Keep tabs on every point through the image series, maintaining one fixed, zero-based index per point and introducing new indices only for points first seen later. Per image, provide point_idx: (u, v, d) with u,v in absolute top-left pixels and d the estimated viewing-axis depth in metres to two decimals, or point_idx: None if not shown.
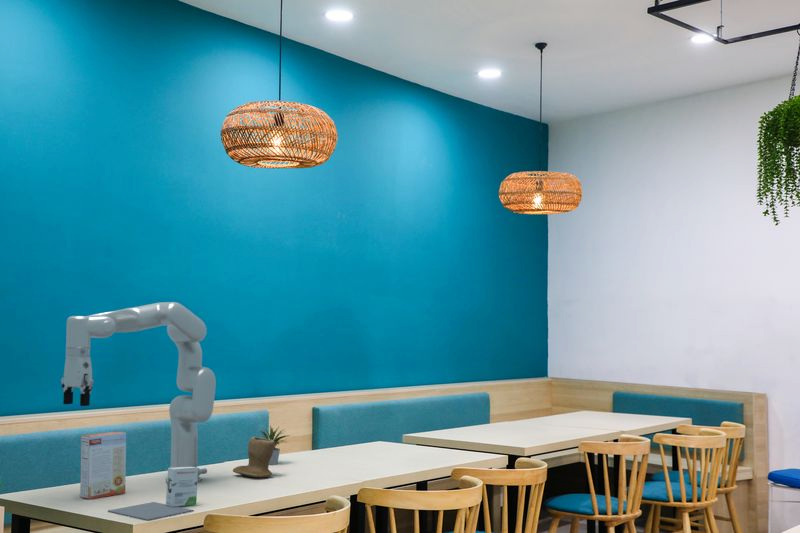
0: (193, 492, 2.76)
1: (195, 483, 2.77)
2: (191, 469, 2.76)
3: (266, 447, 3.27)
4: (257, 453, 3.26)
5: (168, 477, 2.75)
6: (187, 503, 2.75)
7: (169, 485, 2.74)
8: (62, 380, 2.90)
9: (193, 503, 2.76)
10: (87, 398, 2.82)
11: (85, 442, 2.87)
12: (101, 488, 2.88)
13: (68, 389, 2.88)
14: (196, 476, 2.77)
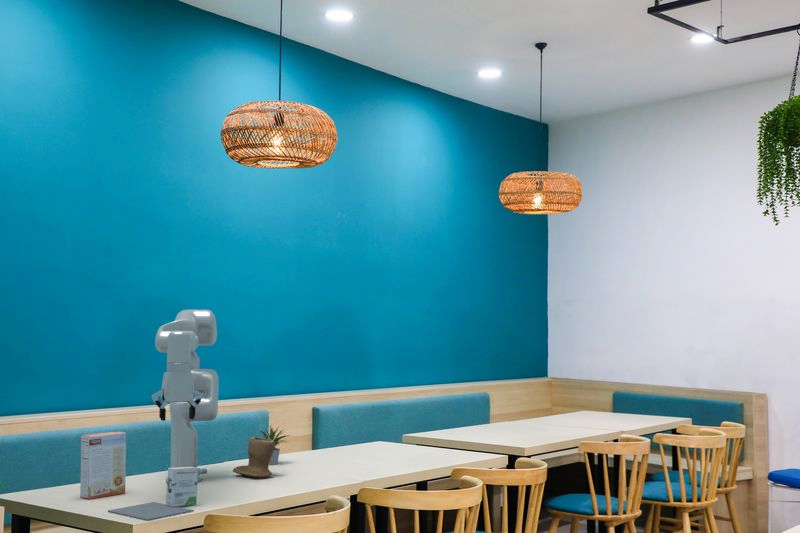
0: (193, 492, 2.76)
1: (195, 483, 2.77)
2: (191, 469, 2.76)
3: (266, 447, 3.27)
4: (257, 453, 3.26)
5: (168, 477, 2.75)
6: (187, 503, 2.75)
7: (169, 485, 2.74)
8: (155, 397, 2.83)
9: (193, 503, 2.76)
10: None
11: (85, 442, 2.87)
12: (101, 488, 2.88)
13: None
14: (196, 476, 2.77)
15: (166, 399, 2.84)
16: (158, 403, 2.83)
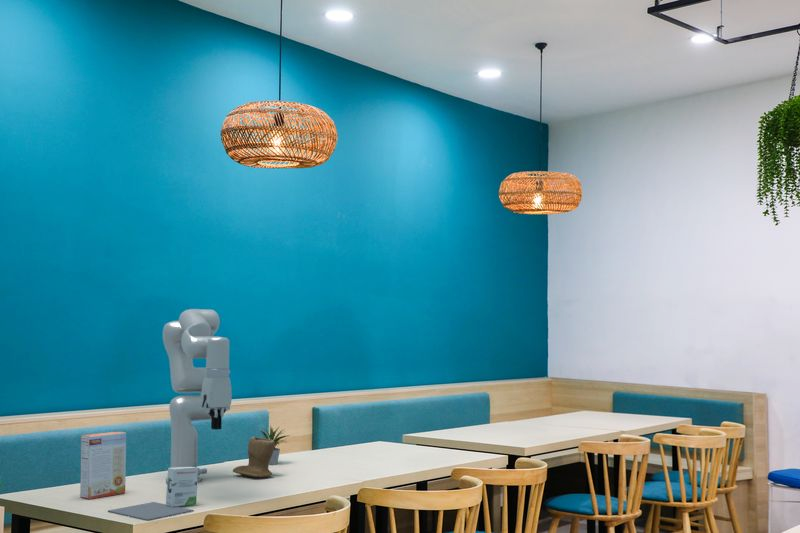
0: (193, 492, 2.76)
1: (195, 483, 2.77)
2: (191, 469, 2.76)
3: (266, 447, 3.27)
4: (257, 453, 3.26)
5: (168, 477, 2.75)
6: (187, 503, 2.75)
7: (169, 485, 2.74)
8: (207, 409, 2.85)
9: (193, 503, 2.76)
10: None
11: (85, 442, 2.87)
12: (101, 488, 2.88)
13: None
14: (196, 476, 2.77)
15: (210, 405, 2.84)
16: (212, 412, 2.86)
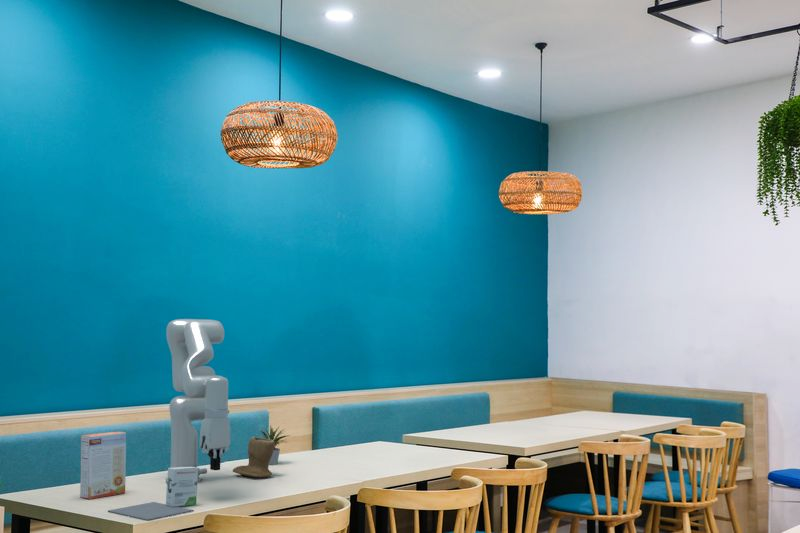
0: (193, 492, 2.76)
1: (195, 483, 2.77)
2: (191, 469, 2.76)
3: (266, 447, 3.27)
4: (257, 453, 3.26)
5: (168, 477, 2.75)
6: (187, 503, 2.75)
7: (169, 485, 2.74)
8: (206, 451, 2.84)
9: (193, 503, 2.76)
10: None
11: (85, 442, 2.87)
12: (101, 488, 2.88)
13: None
14: (196, 476, 2.77)
15: (209, 446, 2.83)
16: (211, 453, 2.85)
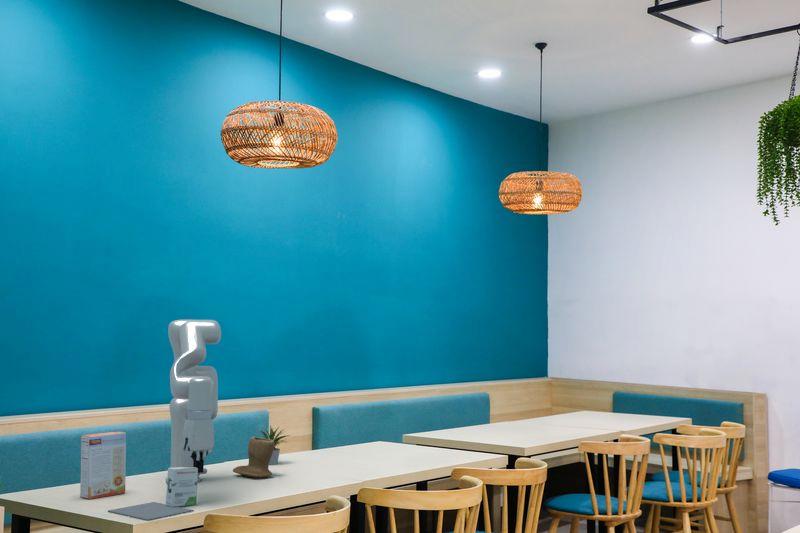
0: (193, 492, 2.76)
1: (195, 483, 2.77)
2: (191, 469, 2.76)
3: (266, 447, 3.27)
4: (257, 453, 3.26)
5: (168, 477, 2.75)
6: (187, 503, 2.75)
7: (169, 485, 2.74)
8: (189, 453, 2.78)
9: (193, 503, 2.76)
10: None
11: (85, 442, 2.87)
12: (101, 488, 2.88)
13: None
14: (196, 476, 2.77)
15: (192, 448, 2.77)
16: (194, 455, 2.80)
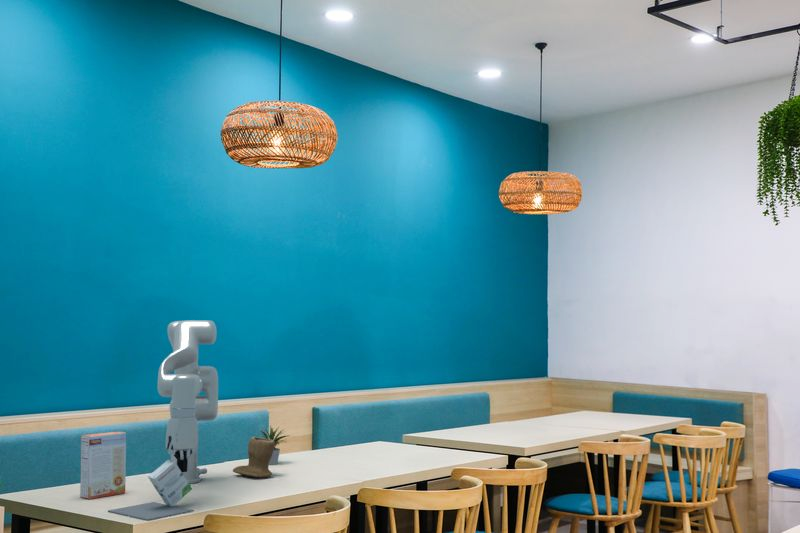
0: (183, 482, 2.73)
1: (180, 474, 2.73)
2: (169, 467, 2.70)
3: (266, 447, 3.27)
4: (257, 453, 3.26)
5: (153, 484, 2.70)
6: (184, 494, 2.74)
7: (158, 490, 2.71)
8: (172, 451, 2.72)
9: (189, 490, 2.75)
10: None
11: (85, 442, 2.87)
12: (101, 488, 2.88)
13: None
14: (178, 469, 2.72)
15: (175, 447, 2.72)
16: (178, 454, 2.74)
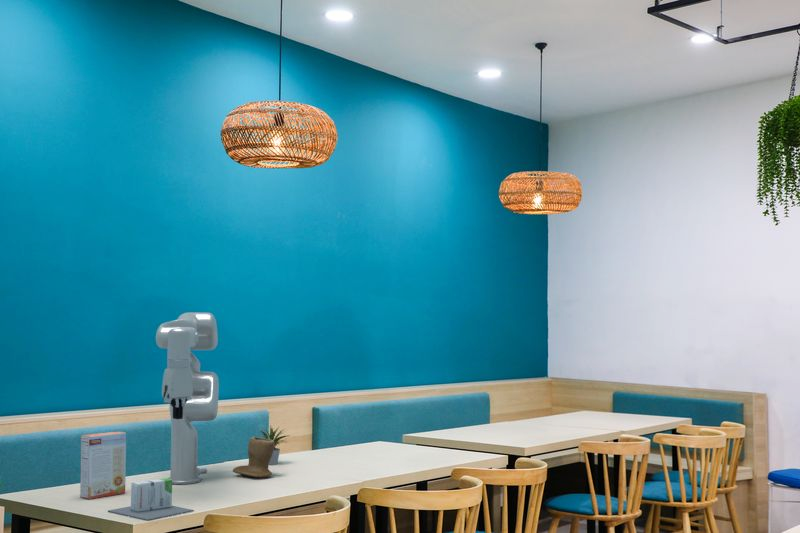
0: (160, 485, 2.69)
1: (152, 485, 2.67)
2: (138, 492, 2.64)
3: (266, 447, 3.27)
4: (257, 453, 3.26)
5: None
6: (170, 490, 2.71)
7: None
8: (168, 400, 2.89)
9: (171, 483, 2.71)
10: None
11: (85, 442, 2.87)
12: (101, 488, 2.88)
13: None
14: (145, 485, 2.66)
15: (171, 395, 2.88)
16: (173, 402, 2.90)
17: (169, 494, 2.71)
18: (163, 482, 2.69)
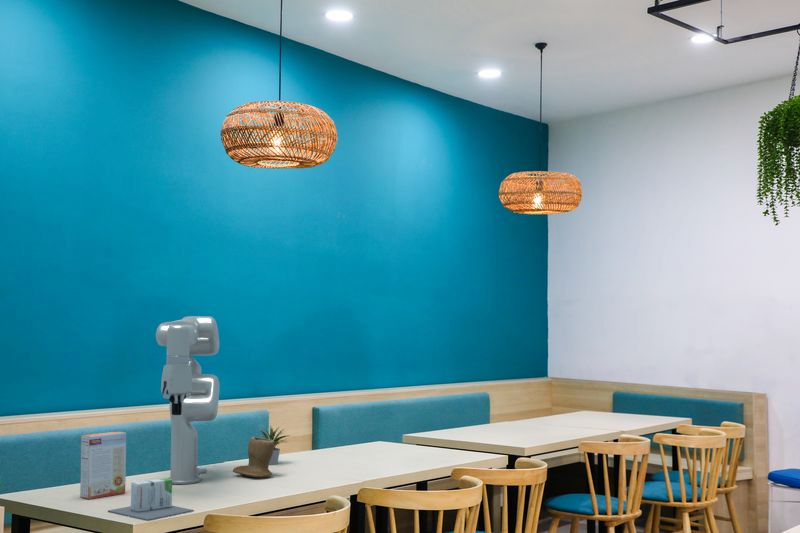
0: (160, 485, 2.69)
1: (152, 485, 2.67)
2: (138, 492, 2.64)
3: (266, 447, 3.27)
4: (257, 453, 3.26)
5: None
6: (170, 490, 2.71)
7: None
8: (167, 396, 2.92)
9: (171, 483, 2.71)
10: None
11: (85, 442, 2.87)
12: (101, 488, 2.88)
13: None
14: (145, 485, 2.66)
15: (170, 391, 2.91)
16: (172, 398, 2.93)
17: (169, 494, 2.71)
18: (163, 482, 2.69)
